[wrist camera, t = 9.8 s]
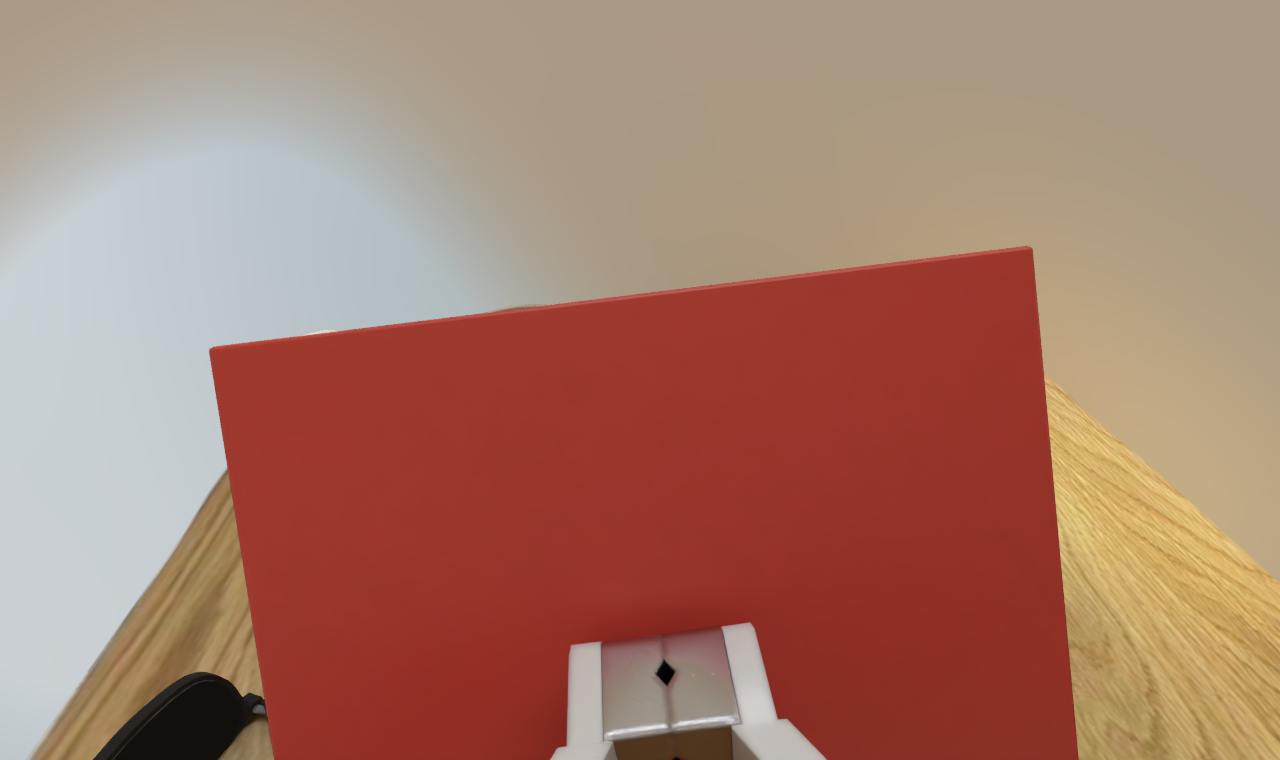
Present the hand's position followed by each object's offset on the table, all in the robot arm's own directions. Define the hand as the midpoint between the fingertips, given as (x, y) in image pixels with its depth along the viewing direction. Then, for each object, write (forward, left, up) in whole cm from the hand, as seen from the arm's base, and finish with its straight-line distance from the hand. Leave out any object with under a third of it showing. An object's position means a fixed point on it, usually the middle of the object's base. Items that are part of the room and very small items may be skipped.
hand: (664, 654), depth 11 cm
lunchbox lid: (0, 0, -2) cm, 2 cm away
